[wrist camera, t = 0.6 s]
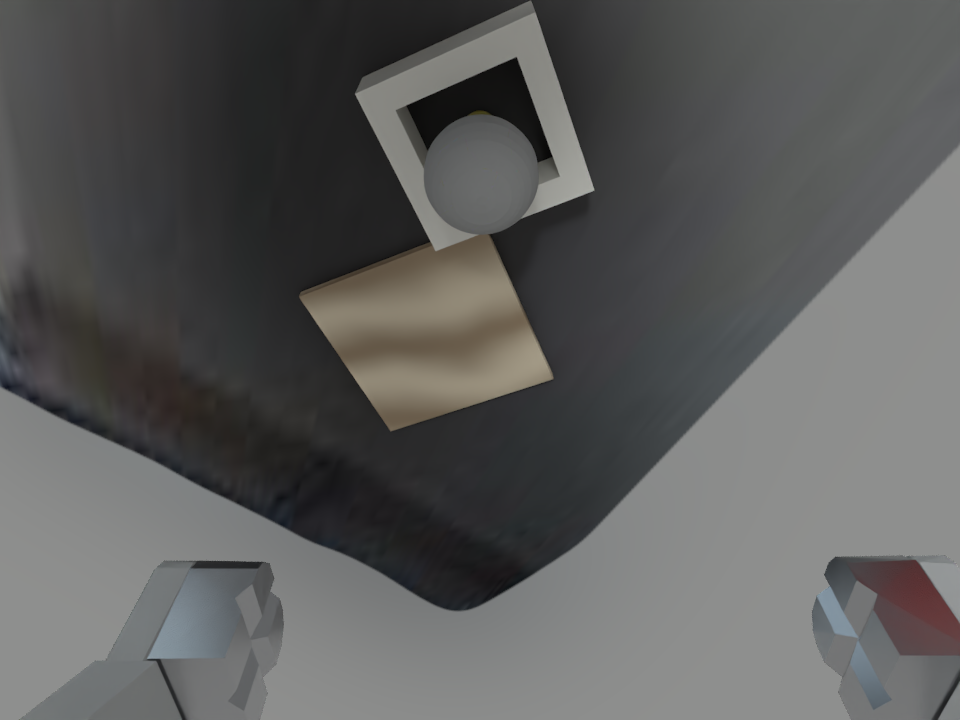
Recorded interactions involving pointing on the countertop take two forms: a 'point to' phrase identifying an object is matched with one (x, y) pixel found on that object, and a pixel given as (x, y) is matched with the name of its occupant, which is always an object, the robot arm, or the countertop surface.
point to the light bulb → (481, 174)
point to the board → (430, 330)
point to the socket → (452, 64)
